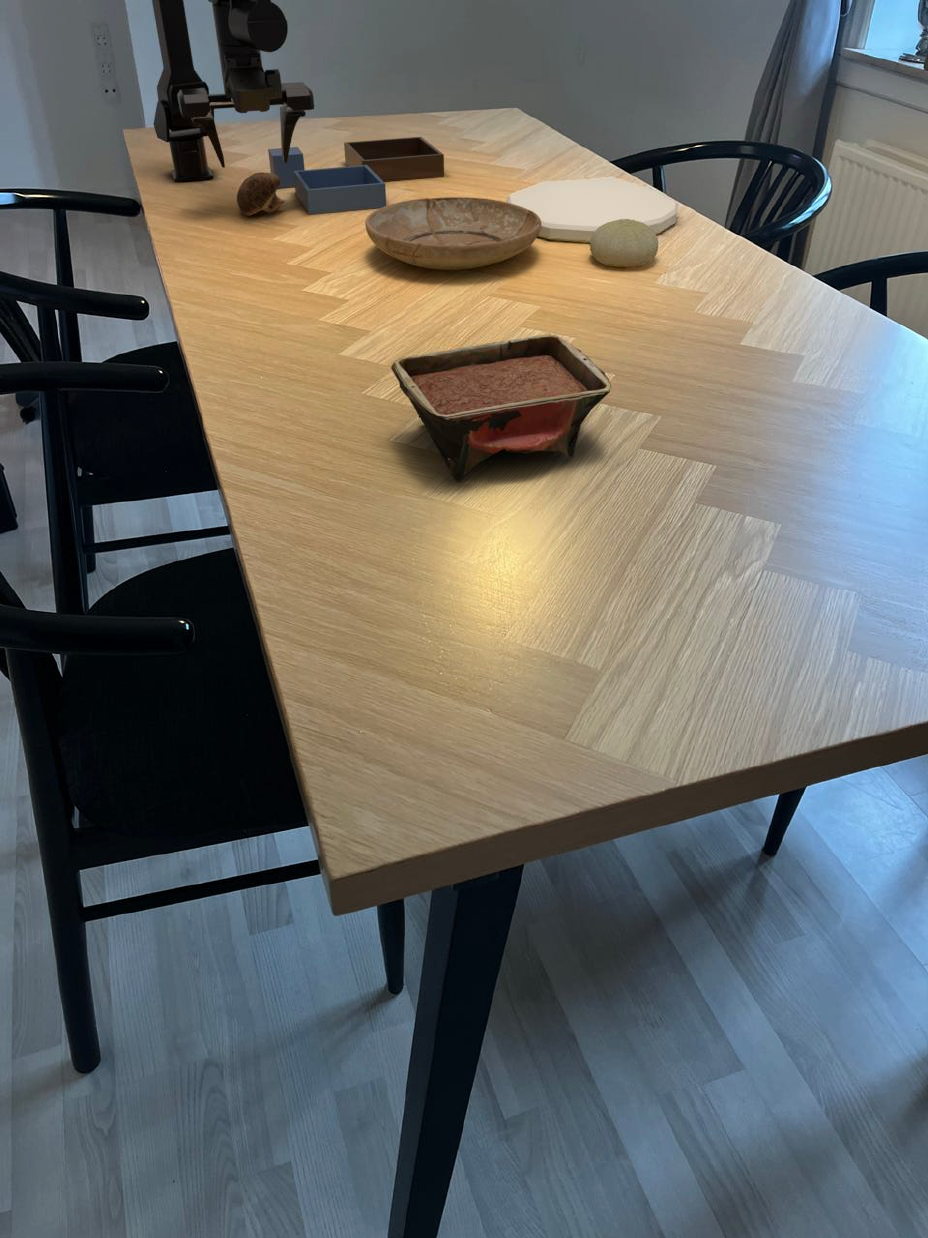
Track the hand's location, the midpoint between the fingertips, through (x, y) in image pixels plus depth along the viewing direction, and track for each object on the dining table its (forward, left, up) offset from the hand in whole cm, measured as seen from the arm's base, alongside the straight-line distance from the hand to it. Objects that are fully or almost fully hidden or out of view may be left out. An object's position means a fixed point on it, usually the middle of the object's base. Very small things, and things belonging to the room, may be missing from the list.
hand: (254, 164), depth 141 cm
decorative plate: (+19, +47, -7) cm, 51 cm away
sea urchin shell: (+38, +43, -7) cm, 58 cm away
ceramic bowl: (+29, +22, -7) cm, 37 cm away
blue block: (-16, +7, -7) cm, 19 cm away
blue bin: (-3, +13, -7) cm, 15 cm away
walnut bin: (-19, +26, -7) cm, 33 cm away
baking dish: (+81, +10, -7) cm, 82 cm away
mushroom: (0, 0, -7) cm, 7 cm away
